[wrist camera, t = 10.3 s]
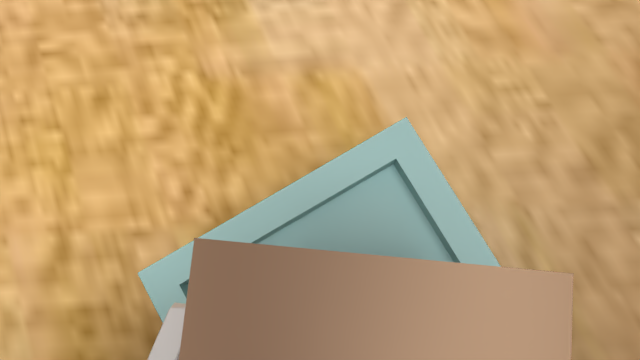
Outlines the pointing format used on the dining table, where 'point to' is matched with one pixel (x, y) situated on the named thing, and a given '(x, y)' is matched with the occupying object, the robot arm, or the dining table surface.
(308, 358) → the walnut block
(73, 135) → the dining table surface
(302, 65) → the dining table surface
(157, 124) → the dining table surface
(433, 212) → the teal box
